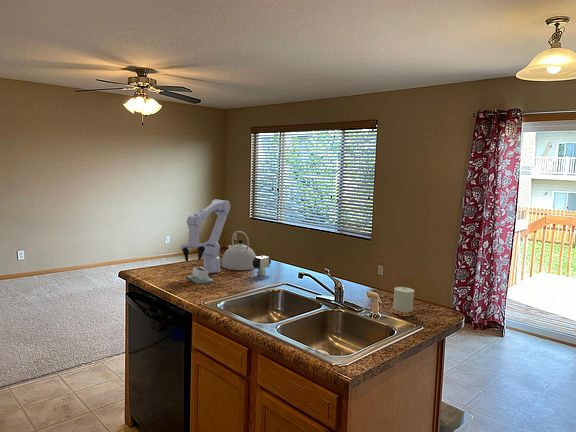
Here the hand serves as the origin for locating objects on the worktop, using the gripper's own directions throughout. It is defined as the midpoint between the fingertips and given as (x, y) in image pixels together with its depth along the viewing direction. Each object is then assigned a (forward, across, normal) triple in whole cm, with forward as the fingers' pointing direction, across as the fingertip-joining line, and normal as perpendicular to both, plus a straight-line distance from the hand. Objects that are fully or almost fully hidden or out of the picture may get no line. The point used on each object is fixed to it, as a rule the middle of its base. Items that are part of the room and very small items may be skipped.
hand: (193, 260), depth 245 cm
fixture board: (+9, +1, -8) cm, 12 cm away
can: (+10, +63, -98) cm, 117 cm away
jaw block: (+8, +1, -8) cm, 11 cm away
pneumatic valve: (+10, +38, -12) cm, 41 cm away
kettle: (+10, +37, +15) cm, 41 cm away
